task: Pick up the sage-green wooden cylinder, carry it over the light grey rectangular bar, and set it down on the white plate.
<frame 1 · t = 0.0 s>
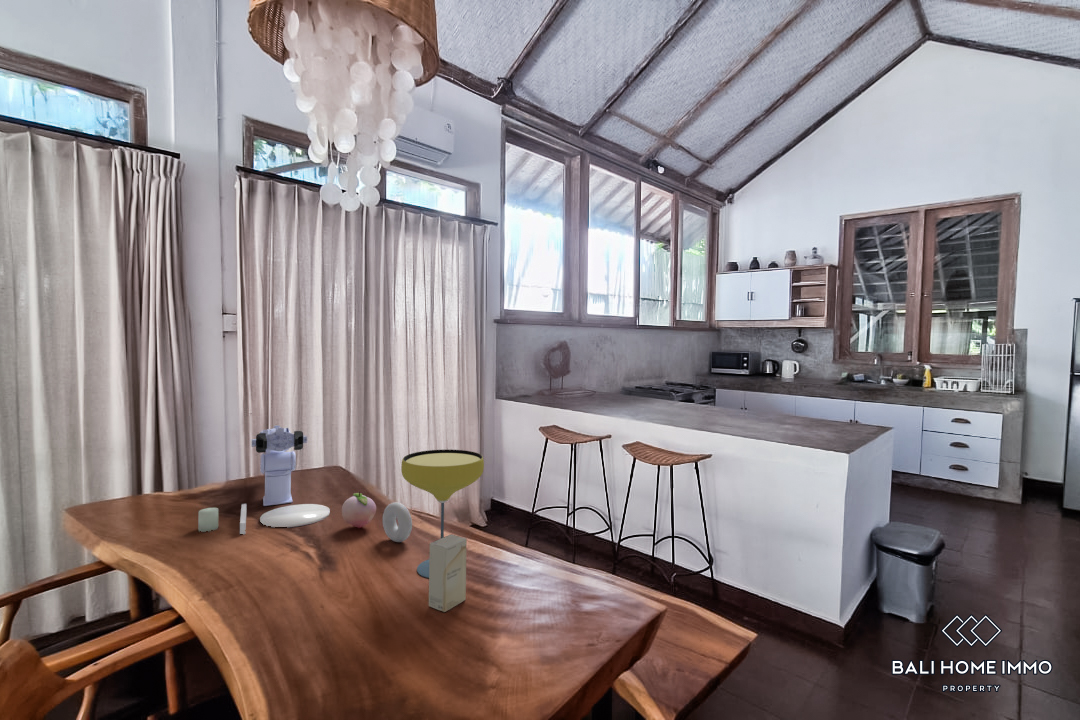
hand: (281, 443, 137), 22 cm above the table, tool horizontal, fingers open, 7 cm apart
cocktail glass: (441, 569, 109), on the table
decorative fruit: (357, 529, 132), on the table
light grey rectangular bar: (243, 523, 134), on the table
donut: (396, 542, 124), on the table
green cylinder: (208, 528, 130), on the table
white plate: (295, 516, 141), on the table
skincare box: (447, 603, 94), on the table
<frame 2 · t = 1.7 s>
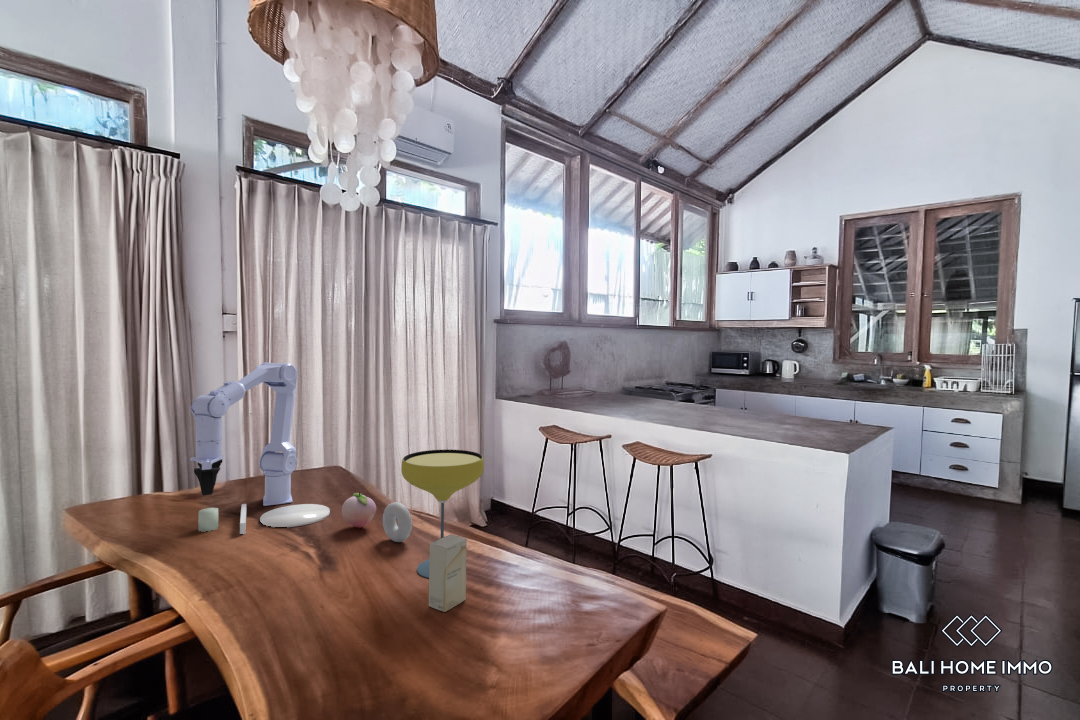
hand: (208, 490, 130), 10 cm above the table, tool pointing down, fingers open, 7 cm apart
nothing on the table moved.
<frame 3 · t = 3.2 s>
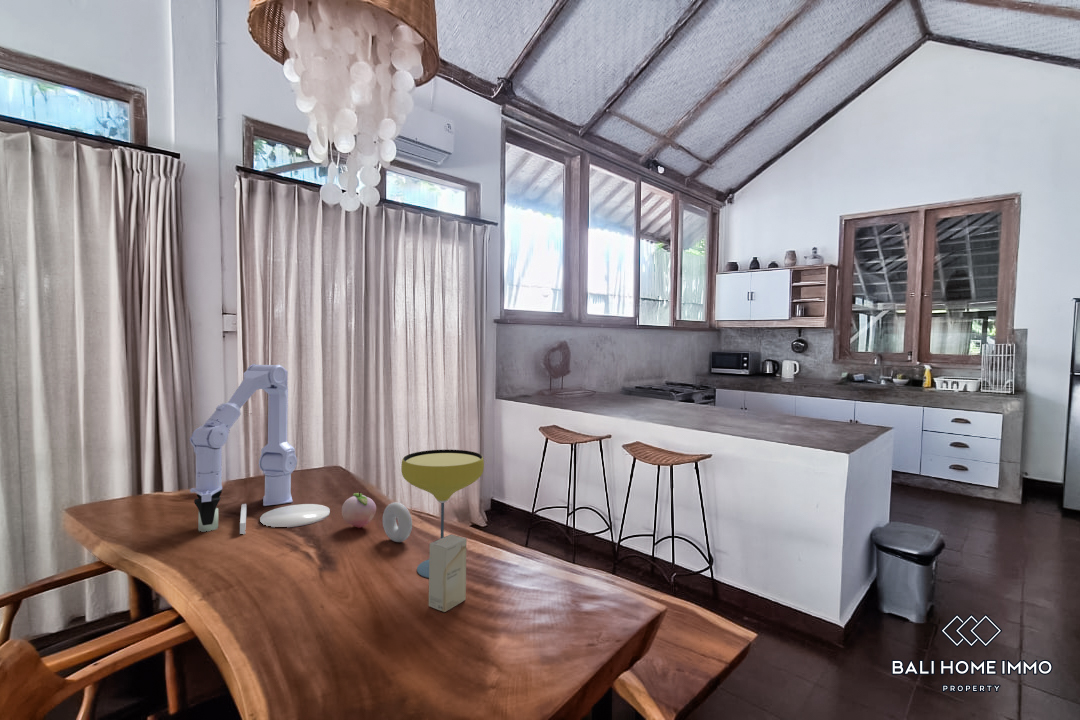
hand: (208, 521, 130), 2 cm above the table, tool pointing down, fingers closed on green cylinder, 4 cm apart
green cylinder: (208, 528, 130), on the table, touching gripper
everything else where it was.
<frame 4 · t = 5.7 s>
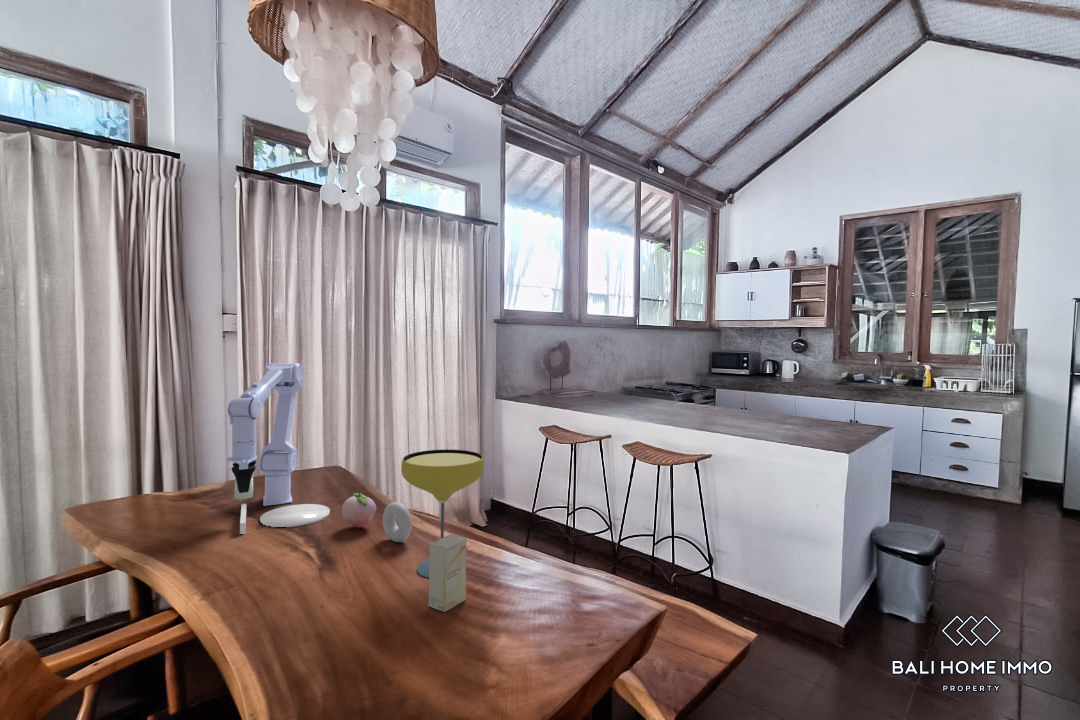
hand: (243, 489, 134), 9 cm above the table, tool pointing down, fingers closed on green cylinder, 4 cm apart
green cylinder: (243, 496, 134), point 7 cm above the table, touching gripper
everything else where it was.
when the fingers open (4 cm above the table, at t = 8.4 s): green cylinder drops 1 cm, resting on white plate.
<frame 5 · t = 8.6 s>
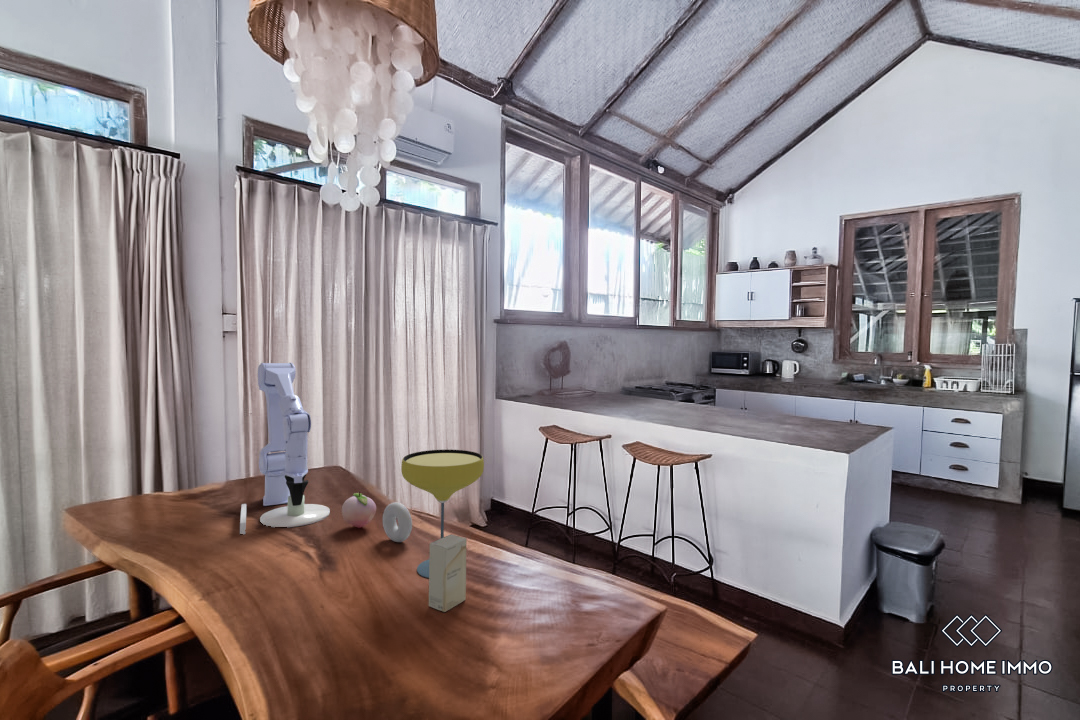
hand: (296, 502, 141), 4 cm above the table, tool pointing down, fingers open, 6 cm apart
green cylinder: (295, 513, 141), point 1 cm above the table, touching white plate
everything else where it was.
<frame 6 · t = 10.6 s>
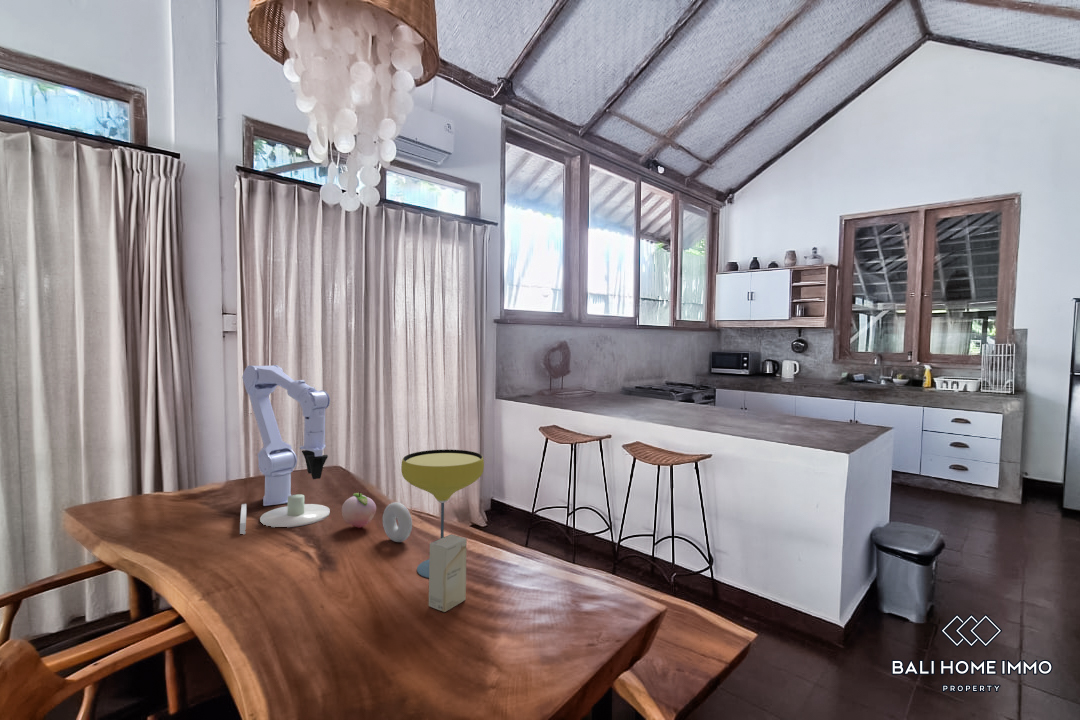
hand: (314, 475, 147), 10 cm above the table, tool pointing down, fingers open, 7 cm apart
nothing on the table moved.
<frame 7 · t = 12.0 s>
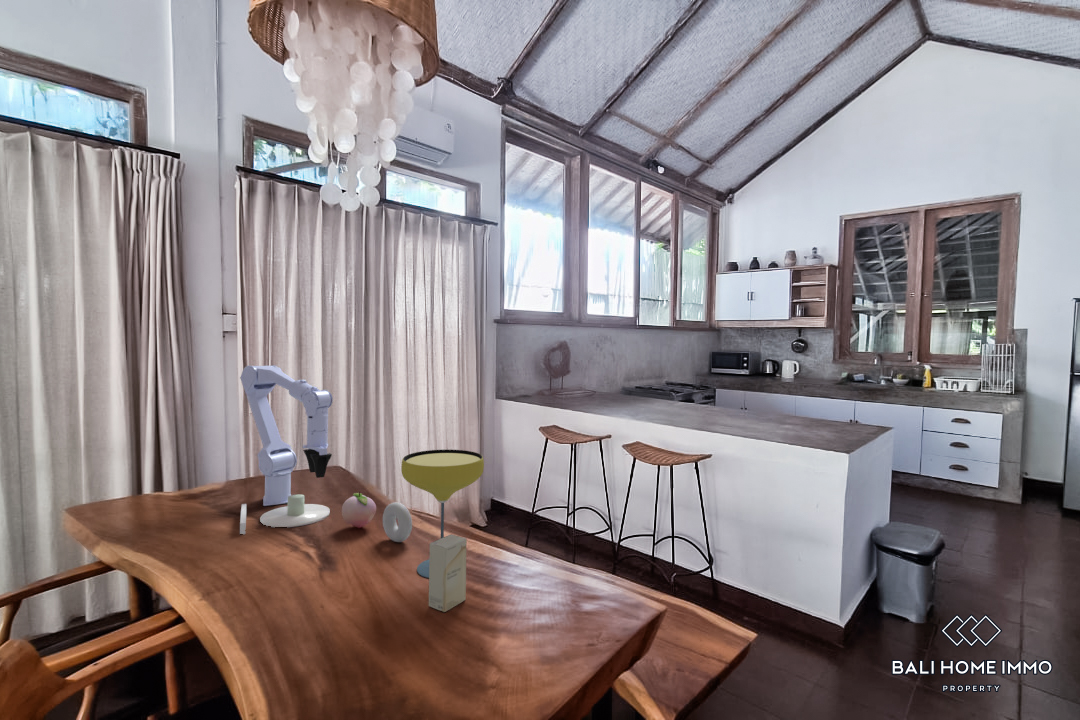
hand: (317, 474, 148), 10 cm above the table, tool pointing down, fingers open, 7 cm apart
nothing on the table moved.
at the end: green cylinder inside the target area on the white plate (0.0 cm from its centre), point 0.8 cm above the white plate's base; green cylinder touching white plate; the gripper is holding nothing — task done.
